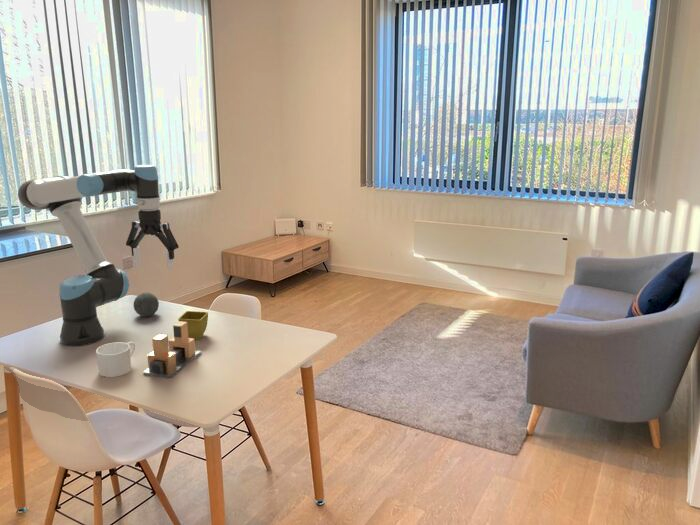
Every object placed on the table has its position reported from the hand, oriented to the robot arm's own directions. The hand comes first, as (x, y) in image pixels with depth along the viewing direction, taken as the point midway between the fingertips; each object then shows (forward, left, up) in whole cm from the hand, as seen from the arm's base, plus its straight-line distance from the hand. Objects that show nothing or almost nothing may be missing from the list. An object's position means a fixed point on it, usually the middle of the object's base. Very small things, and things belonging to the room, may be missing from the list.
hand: (153, 266), depth 208 cm
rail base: (+17, -18, -29) cm, 38 cm away
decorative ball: (-19, +20, -29) cm, 40 cm away
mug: (+2, -27, -29) cm, 39 cm away
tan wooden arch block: (+17, -12, -28) cm, 35 cm away
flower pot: (+12, +5, -29) cm, 32 cm away
